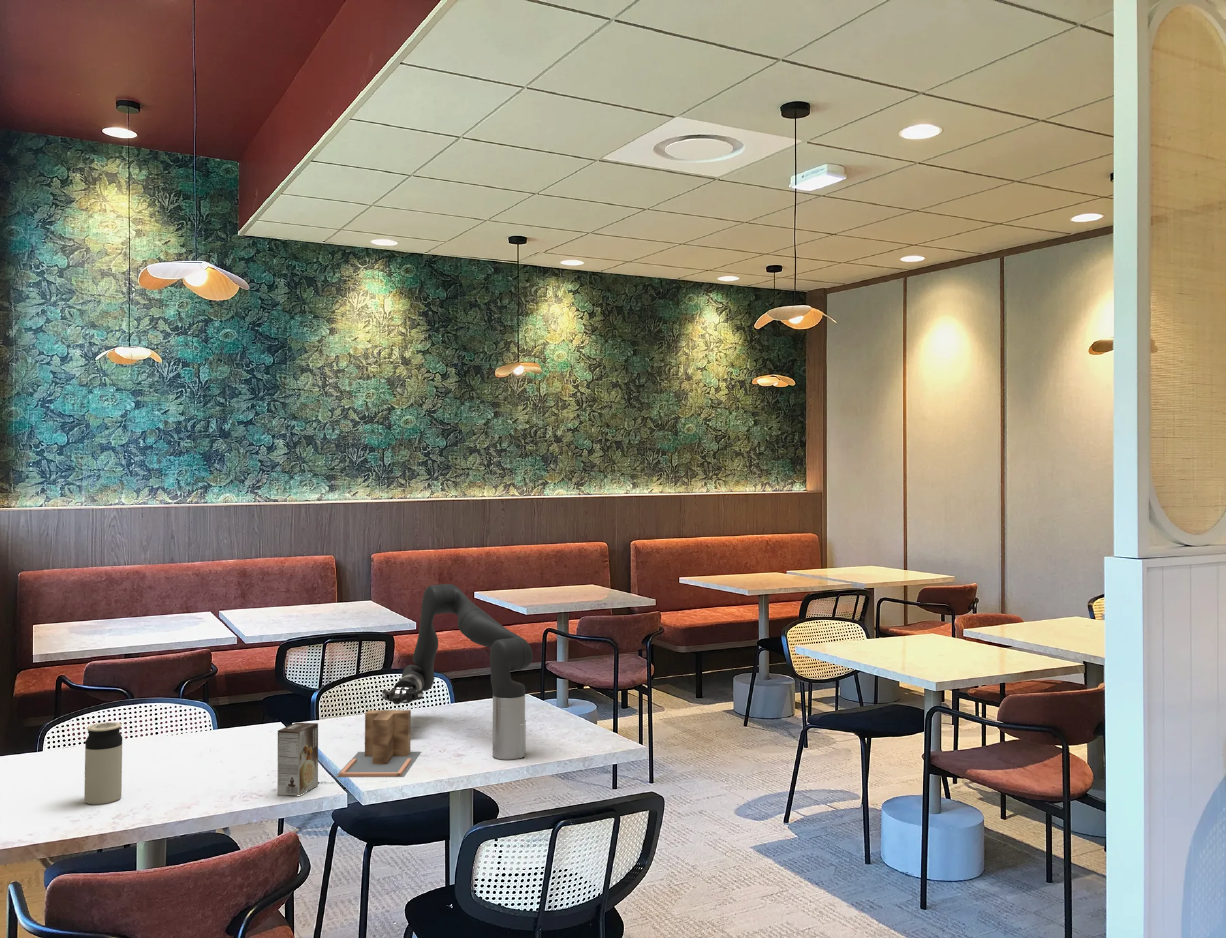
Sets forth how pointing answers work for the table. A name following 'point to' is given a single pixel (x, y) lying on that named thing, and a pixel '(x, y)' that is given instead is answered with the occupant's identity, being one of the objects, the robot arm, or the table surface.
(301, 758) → the coffee box
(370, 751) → the t block
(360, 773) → the board
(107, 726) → the travel mug
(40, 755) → the table surface
